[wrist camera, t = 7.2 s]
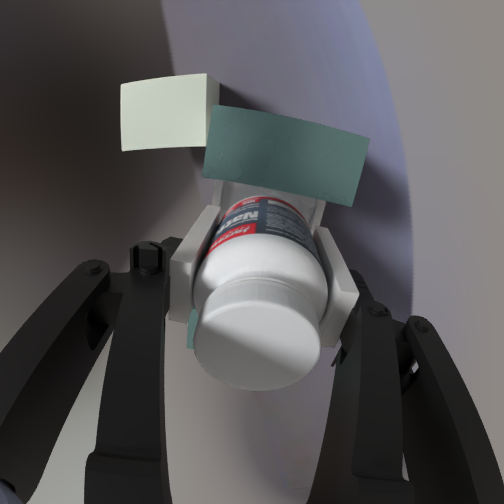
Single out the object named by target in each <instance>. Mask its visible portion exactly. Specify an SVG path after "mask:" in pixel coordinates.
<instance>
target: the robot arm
mask: <svg viewBox="0 0 504 504" xmlns="http://www.w3.org/2000/svg"><path fill="white" fill-rule="evenodd" d="M220 211H221V207H218V206H212V205H207V206H206V208H205V209H204V211H203V212H202V213H201V215H200V216H199V218H198V219H197V221H196V222H195V223H194V225H193V226H192V228H191V229H190V231H189V232H188V234H187V235H186V237H185V238H184V239H179V238H175V237H169V238H167V239H165V240H163V241H162V242H161V243H158V242H152V241H142V242H137V243H135V244H133V245H132V246H131V247H130V271H129V272H127V273H112V272H110V268H109V265H108V264H107V263H106V262H104V261H101V260H88V261H86V262H83V263H81V264H80V265H78V266H77V268H75V269H74V271H72V272H71V273H70V274H69V275H68V276H67V278H65V279H64V280H63V281H62V283H60V285H59V286H58V287H57V288H56V289H55V290H54V291H53V292H52V293H51V294H50V295H49V296H48V297H47V298H46V299H45V301H44V302H43V303H42V304H41V305H40V306H39V307H38V308H37V309H36V310H35V312H34V313H33V314H32V315H31V316H30V317H29V318H28V320H27V321H26V322H25V323H24V324H23V325H22V327H21V328H20V329H19V330H18V332H17V333H16V334H15V335H14V336H13V338H12V339H11V340H10V341H9V343H8V344H7V345H6V346H5V348H4V349H3V350H2V352H1V353H0V504H26V503H27V502H28V501H29V500H30V498H31V496H32V495H33V493H34V492H35V489H36V488H37V486H38V484H39V482H40V479H41V477H42V475H43V472H44V470H45V467H46V464H47V462H48V460H49V457H50V455H51V452H52V450H53V448H54V445H55V443H56V441H57V438H58V436H59V434H60V431H61V429H62V427H63V425H64V423H65V421H66V419H67V417H68V415H69V412H70V410H71V408H72V406H73V404H74V402H75V400H76V398H77V396H78V394H79V392H80V390H81V388H82V386H83V384H84V383H85V380H86V379H87V377H88V375H89V373H90V371H91V369H92V367H93V366H94V364H95V362H96V360H97V358H98V356H99V355H100V353H101V351H102V349H103V348H104V346H105V344H106V342H107V341H108V339H109V337H110V335H111V334H112V332H113V330H114V332H113V337H112V341H111V346H110V351H109V356H108V361H107V366H106V372H105V378H104V383H103V391H102V396H101V403H100V411H99V419H98V427H97V428H98V429H97V437H96V446H95V449H94V451H93V452H92V453H90V454H89V456H88V458H87V461H86V467H85V485H84V486H85V487H84V504H172V497H171V492H170V485H169V475H168V463H167V450H166V432H165V406H164V405H165V404H164V347H165V316H166V314H167V312H168V310H169V320H172V321H176V322H181V323H185V324H187V322H188V320H189V317H190V314H191V312H192V309H193V306H194V299H193V289H194V282H195V279H196V275H197V272H198V269H199V267H200V265H201V263H202V260H203V258H204V256H205V254H206V252H207V249H208V247H209V244H210V242H211V240H212V238H213V236H214V234H215V232H216V229H217V227H218V225H219V218H220ZM312 237H313V240H314V243H315V246H316V249H317V252H318V255H319V258H320V261H321V264H322V267H323V270H324V274H325V277H326V282H327V288H328V300H327V305H326V309H325V312H324V314H323V317H322V319H321V320H320V322H319V323H318V324H319V330H320V336H321V346H325V347H334V348H335V346H336V344H337V342H338V340H339V338H340V339H341V343H342V345H341V347H340V349H339V351H338V353H337V355H336V357H335V359H334V361H333V363H332V365H331V366H332V367H333V366H334V365H335V363H336V369H335V376H334V383H333V389H332V395H331V401H330V407H329V413H328V418H327V423H326V428H325V433H324V438H323V443H322V447H321V452H320V456H319V461H318V465H317V469H316V473H315V477H314V481H313V484H312V488H311V492H310V495H309V498H308V501H307V503H306V504H504V484H503V480H502V476H501V473H500V470H499V467H498V463H497V461H496V458H495V455H494V452H493V449H492V446H491V443H490V441H489V438H488V435H487V433H486V430H485V428H484V425H483V423H482V420H481V418H480V416H479V414H478V411H477V409H476V407H475V404H474V402H473V400H472V398H471V396H470V394H469V392H468V389H467V387H466V385H465V383H464V381H463V379H462V377H461V375H460V373H459V371H458V369H457V368H456V366H455V364H454V362H453V360H452V358H451V356H450V354H449V352H448V351H447V349H446V347H445V345H444V344H443V342H442V340H441V338H440V337H439V335H438V333H437V331H436V330H435V328H434V327H433V325H432V324H431V323H430V322H429V321H428V320H427V319H425V318H424V317H420V316H411V317H409V319H408V321H407V323H406V324H405V323H402V322H399V321H396V320H394V319H392V316H391V313H390V311H389V309H388V308H387V307H386V306H384V305H383V304H381V303H379V302H376V301H374V299H373V297H372V295H371V293H370V291H369V289H368V287H367V285H366V284H365V281H364V279H363V277H362V276H361V275H360V274H359V273H358V272H357V271H355V270H350V269H348V268H347V266H346V264H345V262H344V260H343V258H342V255H341V253H340V251H339V249H338V247H337V245H336V243H335V241H334V239H333V237H332V236H331V234H330V232H329V230H328V228H325V227H320V226H315V227H314V231H313V234H312ZM416 361H417V363H418V366H419V368H418V369H417V371H416V372H415V373H414V372H413V370H412V367H413V366H414V364H415V363H416ZM403 454H404V458H405V463H406V468H407V472H408V478H409V481H407V480H404V478H403V477H402V459H403Z"/></svg>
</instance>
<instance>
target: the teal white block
mask: <svg viewBox="0 0 504 504" xmlns="http://www.w3.org/2000/svg"><path fill="white" fill-rule="evenodd" d="M369 141H370V139H369V138H366V137H363V136H360V135H356V134H353V133H350V132H346V131H343V130H339V129H336V128H332V127H329V126H325V125H321V124H317V123H313V122H309V121H305V120H301V119H296V118H292V117H287V116H282V115H277V114H272V113H267V112H261V111H256V110H250V109H243V108H237V107H230V106H222V105H214V104H213V109H212V115H211V121H210V127H209V133H208V139H207V145H206V152H205V159H204V166H203V173H202V177H206V178H212V179H215V185H214V192H213V199H212V206H218V207H221V211H220V218H219V223H220V221H221V219H222V218H223V216H224V214H225V213H226V212H227V211H228V210H229V209H230V208H231V207H232V206H233V205H234V204H236V203H237V202H239V201H241V200H243V199H245V198H248V197H252V196H257V195H269V196H274V197H278V198H281V199H284V200H286V201H288V202H289V203H291V204H292V205H293V206H295V207H296V208H297V209H298V210H299V211H300V212H301V214H302V215H303V216H304V218H305V220H306V222H307V224H308V226H309V229H310V232H311V234H313V231H314V227H315V226H320V223H321V219H322V215H323V212H324V208H325V204H326V201H328V202H332V203H337V204H341V205H345V206H349V207H352V205H353V201H354V198H355V194H356V191H357V187H358V184H359V180H360V176H361V173H362V169H363V165H364V161H365V157H366V153H367V149H368V145H369ZM197 322H198V314H197V311H196V308H195V305H194V306H193V309H192V312H191V314H190V317H189V320H188V334H187V348H190V349H194V347H193V337H194V332H195V329H196V325H197Z"/></svg>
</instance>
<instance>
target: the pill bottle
mask: <svg viewBox="0 0 504 504" xmlns="http://www.w3.org/2000/svg"><path fill="white" fill-rule="evenodd" d="M193 299H194V305H195V308H196V311H197V314H198V322H197V325H196V329H195V332H194V337H193V347H194V352H195V355H196V358H197V360H198V362H199V363H200V364H201V366H202V367H203V368H204V369H205V371H206V372H207V373H209V374H210V375H211V376H213V377H214V378H215V379H217V380H219V381H221V382H223V383H224V384H227V385H229V386H232V387H236V388H239V389H244V390H252V391H267V390H275V389H279V388H283V387H286V386H289V385H291V384H294V383H296V382H297V381H299V380H301V379H303V378H304V377H305V376H306V375H307V374H309V373H310V372H311V371H312V369H313V368H314V367H315V365H316V364H317V362H318V360H319V357H320V353H321V336H320V330H319V324H318V323H319V322H320V320H321V319H322V317H323V314H324V312H325V309H326V305H327V300H328V288H327V282H326V277H325V274H324V270H323V267H322V264H321V261H320V258H319V255H318V252H317V249H316V246H315V243H314V240H313V237H312V234H311V232H310V229H309V226H308V224H307V222H306V220H305V218H304V216H303V215H302V214H301V212H300V211H299V210H298V209H297V208H296V207H295V206H293V205H292V204H291V203H289V202H288V201H286V200H284V199H281V198H278V197H274V196H269V195H257V196H252V197H248V198H245V199H243V200H241V201H239V202H237V203H236V204H234V205H233V206H232V207H231V208H230V209H229V210H228V211H227V212H226V213H225V214H224V216H223V218H222V219H221V221H220V223H219V225H218V227H217V229H216V232H215V234H214V236H213V238H212V240H211V242H210V244H209V247H208V249H207V252H206V254H205V256H204V258H203V260H202V263H201V265H200V267H199V269H198V272H197V275H196V279H195V282H194V289H193Z"/></svg>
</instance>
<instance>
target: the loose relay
mask: <svg viewBox="0 0 504 504" xmlns="http://www.w3.org/2000/svg"><path fill="white" fill-rule="evenodd" d="M219 89H220V83H219V82H218V81H216V80H215V79H214V78H212V77H211V76H209V75H208V74H192V75H181V76H172V77H163V78H156V79H149V80H143V81H136V82H131V83H126V84H121V140H122V151H127V150H138V149H151V148H169V147H196V146H206V145H207V139H208V133H209V127H210V121H211V115H212V109H213V104H214V105H219Z"/></svg>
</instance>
